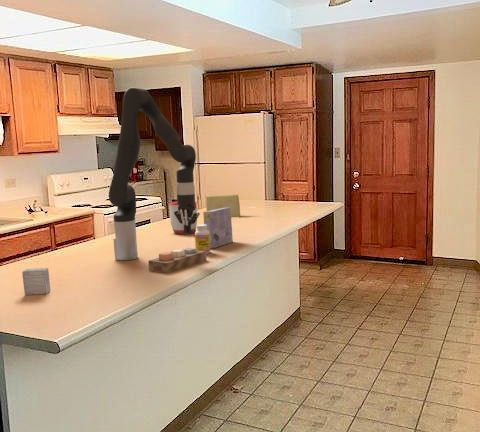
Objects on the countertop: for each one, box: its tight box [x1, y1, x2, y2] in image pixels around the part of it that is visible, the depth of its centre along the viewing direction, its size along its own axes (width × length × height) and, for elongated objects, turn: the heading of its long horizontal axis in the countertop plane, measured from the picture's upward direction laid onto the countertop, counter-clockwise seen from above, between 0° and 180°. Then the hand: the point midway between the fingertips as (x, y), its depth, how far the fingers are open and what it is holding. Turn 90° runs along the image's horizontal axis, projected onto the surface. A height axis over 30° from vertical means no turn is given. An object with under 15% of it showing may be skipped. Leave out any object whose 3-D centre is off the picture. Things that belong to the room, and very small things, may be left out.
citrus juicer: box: [168, 200, 199, 235], centre depth 301 cm, size 16×17×20 cm
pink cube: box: [158, 251, 173, 261], centre depth 219 cm, size 4×4×4 cm
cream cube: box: [170, 249, 185, 258], centre depth 224 cm, size 4×4×4 cm
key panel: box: [147, 250, 207, 274], centre depth 224 cm, size 24×10×4 cm, turn 143°
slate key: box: [182, 247, 196, 254], centre depth 230 cm, size 4×4×4 cm
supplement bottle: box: [194, 223, 211, 254], centre depth 246 cm, size 7×7×13 cm
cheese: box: [205, 193, 241, 218], centre depth 354 cm, size 22×10×15 cm, turn 66°
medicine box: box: [21, 267, 51, 296], centre depth 192 cm, size 8×4×9 cm, turn 92°
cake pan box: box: [202, 207, 234, 249], centre depth 262 cm, size 19×5×18 cm, turn 149°
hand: (187, 233), depth 229 cm, fingers closed
